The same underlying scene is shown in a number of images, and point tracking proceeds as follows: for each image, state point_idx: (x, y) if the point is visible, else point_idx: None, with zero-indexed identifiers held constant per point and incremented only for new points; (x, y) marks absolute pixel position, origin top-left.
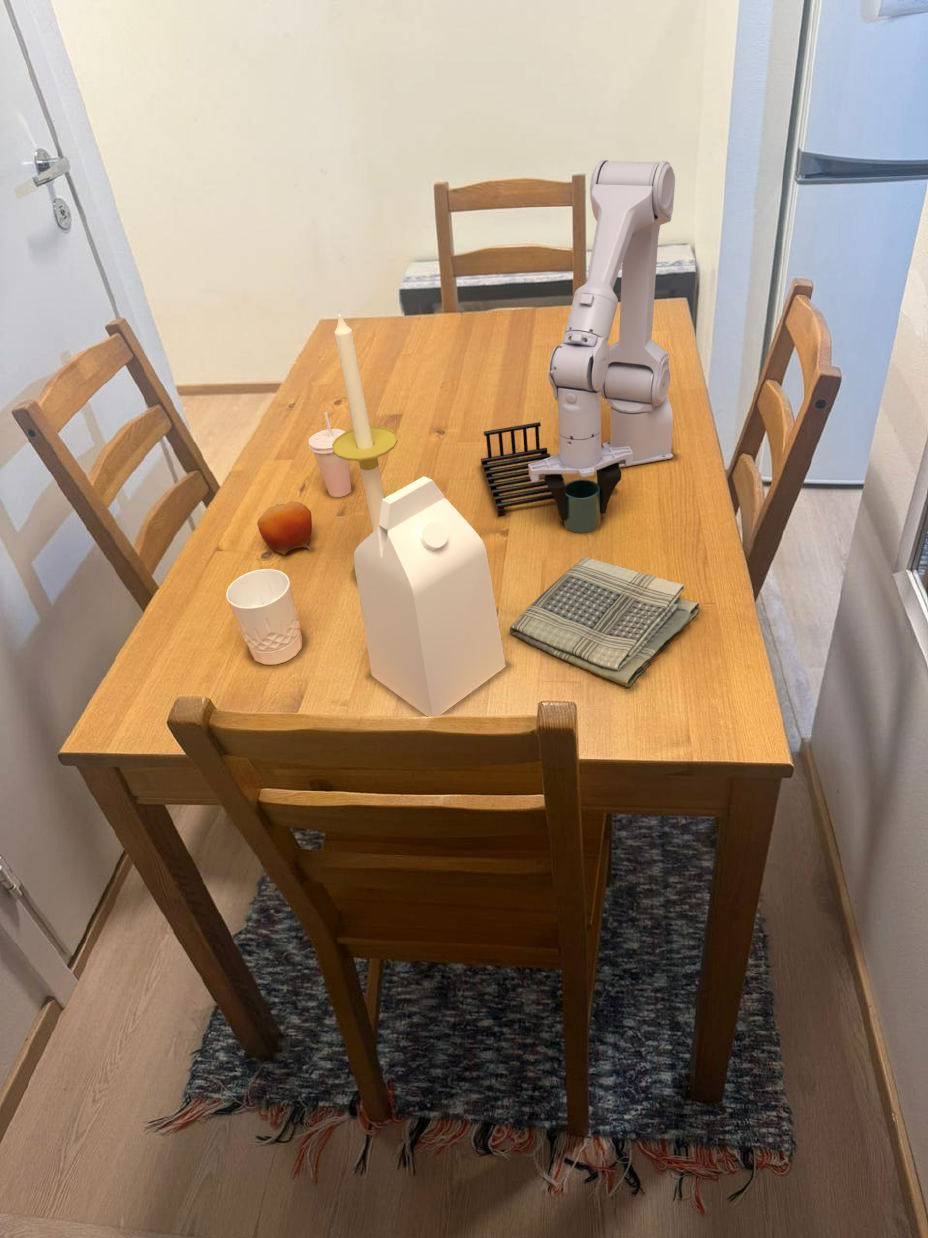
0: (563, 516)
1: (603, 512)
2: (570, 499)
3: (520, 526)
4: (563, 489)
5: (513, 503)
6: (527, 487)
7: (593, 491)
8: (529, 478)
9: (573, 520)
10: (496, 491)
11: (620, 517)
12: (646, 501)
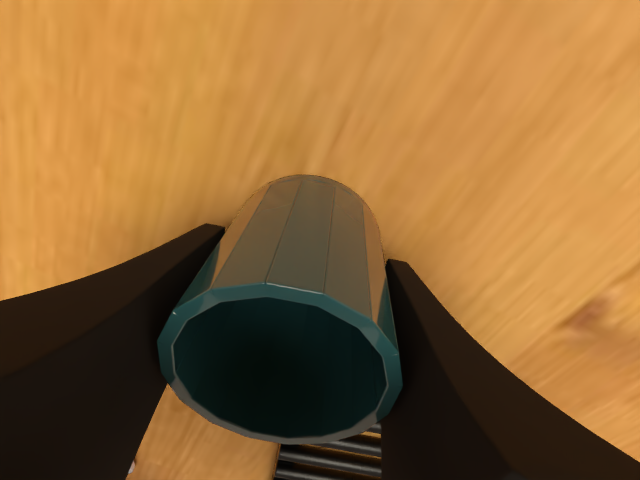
0: (408, 272)
1: (212, 226)
2: (391, 332)
3: (511, 321)
4: (521, 448)
5: None
6: None
7: (210, 343)
8: (369, 469)
9: (370, 233)
10: None
11: (156, 205)
12: (44, 246)
